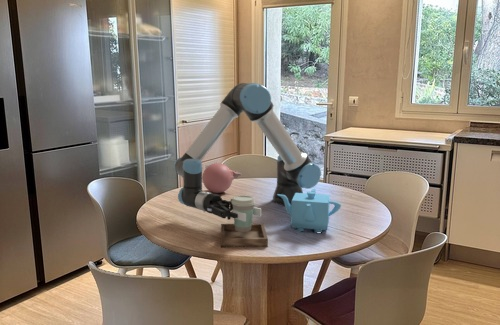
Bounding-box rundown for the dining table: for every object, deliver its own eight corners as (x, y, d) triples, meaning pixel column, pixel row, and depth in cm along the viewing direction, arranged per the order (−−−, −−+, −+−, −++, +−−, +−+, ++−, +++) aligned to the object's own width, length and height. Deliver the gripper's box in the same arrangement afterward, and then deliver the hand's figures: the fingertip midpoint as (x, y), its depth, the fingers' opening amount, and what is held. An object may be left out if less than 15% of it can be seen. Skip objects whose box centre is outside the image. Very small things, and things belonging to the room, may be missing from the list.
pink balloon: (242, 196, 219) (242, 166, 216) (201, 196, 218) (201, 166, 215) (240, 188, 234) (241, 160, 231) (203, 188, 233) (203, 160, 230)
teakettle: (343, 231, 171) (345, 194, 168) (305, 239, 161) (307, 201, 158) (311, 217, 187) (312, 184, 184) (275, 225, 177) (276, 190, 174)
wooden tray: (263, 230, 170) (263, 223, 169) (267, 246, 154) (267, 238, 153) (221, 231, 169) (221, 223, 168) (221, 247, 153) (221, 239, 152)
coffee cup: (259, 229, 161) (260, 198, 159) (243, 235, 155) (243, 202, 153) (242, 224, 167) (243, 193, 164) (226, 229, 161) (226, 197, 158)
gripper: (227, 206, 179) (270, 218, 165) (189, 217, 164) (233, 232, 150) (227, 188, 178) (271, 199, 163) (189, 198, 163) (233, 211, 148)
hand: (253, 215), depth 156 cm, fingers closed on coffee cup, 8 cm apart
